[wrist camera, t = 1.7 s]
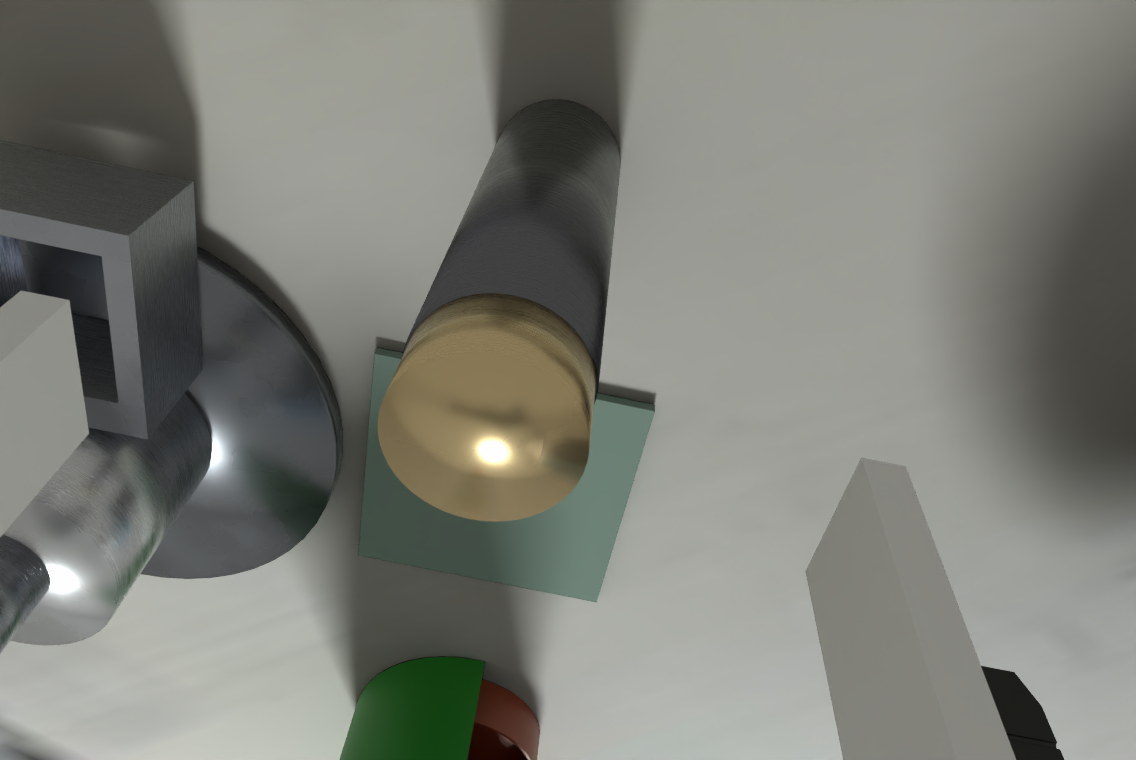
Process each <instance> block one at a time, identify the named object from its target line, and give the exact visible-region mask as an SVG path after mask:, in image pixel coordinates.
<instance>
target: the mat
mask: <svg viewBox="0 0 1136 760" xmlns="http://www.w3.org/2000/svg"><path fill="white" fill-rule="evenodd" d="M402 357H403V353H401V352H396V351H391V350H386V349H381V348H377V350H376V352H375V355H374V367H373V380H372V392H371V404H370V417H369V429H368V441H367V454H366V466H365V478H364V491H363V503H362V515H361V528H360V540H359V552H358V555H360V556H365V557H370V558H375V559H380V560H385V561H390V562H395V563H400V564H405V565H410V566H416V567H421V568H426V569H431V570H436V571H441V572H446V573H451V574H456V575H461V576H466V577H471V578H476V579H481V580H486V581H491V582H496V583H501V584H507V585H512V586H517V587H522V588H527V589H532V590H537V591H542V592H547V593H552V594H557V595H562V596H567V597H572V598H577V599H582V600H587V601H592V602H597V599H598V595H599V592H600V589H601V585H602V582H603V579H604V576H605V572H606V569H607V566H608V563H609V559H610V556H611V553H612V549H613V546H614V543H615V540H616V536H617V533H618V530H619V526H620V523H621V520H622V517H623V513H624V510H625V507H626V504H627V500H628V497H629V494H630V490H631V487H632V484H633V481H634V477H635V474H636V471H637V468H638V464H639V461H640V458H641V454H642V451H643V448H644V445H645V441H646V438H647V435H648V432H649V428H650V425H651V422H652V418H653V415H654V412H655V405H653V404H648V403H643V402H638V401H633V400H628V399H624V398H619V397H614V396H609V395H604V394H599V393H597V398H596V401H595V404H594V409H593V419H592V428H591V438H590V448H589V455H588V461H587V465H586V468H585V470H584V473H583V475H582V477H581V479H580V481H579V482H578V484H577V485H576V486H575V488H574V489H573V490H572V492H571V493H569V494H568V495H567V496H566V497H565V498H564V499H563V500H562V501H560V502H559V503H558V504H556V505H555V506H553V507H551V508H549V509H548V510H546V511H544V512H541V513H539V514H536V515H534V516H531V517H527V518H523V519H518V520H512V521H498V522H493V521H479V520H473V519H467V518H463V517H459V516H456V515H453V514H450V513H447V512H445V511H442V510H440V509H438V508H436V507H434V506H432V505H430V504H429V503H427V502H425V501H424V500H422V499H420V498H419V497H418V496H416V495H415V494H414V493H412V492H411V491H410V490H409V489H408V488H407V487H406V486H405V485H404V484H403V483H402V482H401V481H400V480H399V479H398V478H397V476H396V475H395V474H394V473H393V471H392V469H391V468H390V466H389V465H388V463H387V461H386V459H385V457H384V455H383V452H382V449H381V446H380V443H379V437H378V416H379V410H380V407H381V404H382V401H383V399H384V396H385V394H386V392H387V390H388V388H389V385H390V383H391V381H392V379H393V376H394V374H395V372H396V370H397V368H398V365H399V363H400V361H401V359H402Z"/></svg>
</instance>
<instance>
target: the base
mask: <svg viewBox="0 0 1136 760" xmlns="http://www.w3.org/2000/svg"><path fill="white" fill-rule="evenodd" d="M19 242H20V248H21V253H22V259H23V265H24V271H25V277H26V282H27V288H28V292H31V293H36V294H41V295H46V296H51V297H56V298H61V299H66V300H69V301H70V308H71V314H73V315H78V316H83V317H88V318H93V319H98V320H102V321H107V322H109V316H108V308H107V299H106V291H105V282H104V273H103V265H102V256H98V255H93V254H88V253H83V252H79V251H74V250H69V249H64V248H59V247H55V246H50V245H45V244H40V243H35V242H31V241H26V240H21V239H19ZM197 261H198V282H199V302H200V323H201V343H202V364H203V370H202V371H201V373H200V374H199V375H198V376H197V378H196V379H195V380H194V381H193V383H192V384H191V385H190V387H189V388H188V389H187V390H186V392H185V394H186V395H187V396H188V397H189V398H190V399H191V401H192V402H193V403H194V404H195V406H196V407H197V409H198V410H199V412H200V414H201V415H202V417H203V419H204V421H205V423H206V425H207V428H208V431H209V434H210V438H211V445H212V458H211V462H210V467H209V469H208V471H207V473H206V475H205V477H204V478H203V480H202V481H201V483H200V484H199V486H198V487H197V489H196V490H195V492H194V493H193V495H192V496H191V498H190V499H189V501H188V502H187V504H186V505H185V507H184V508H183V510H182V512H181V513H180V515H179V516H178V518H177V519H176V521H175V522H174V524H173V525H172V527H171V528H170V530H169V531H168V533H167V534H166V536H165V537H164V539H163V540H162V542H161V543H160V545H159V546H158V548H157V549H156V551H155V552H154V554H153V555H152V557H151V558H150V560H149V561H148V563H147V564H146V566H145V567H144V569H143V570H142V572H141V574H145V575H151V576H158V577H166V578H183V579H194V578H213V577H219V576H226V575H233V574H237V573H240V572H244V571H248V570H251V569H254V568H257V567H259V566H261V565H264V564H266V563H269V562H271V561H273V560H275V559H276V558H278V557H280V556H281V555H283V554H285V553H286V552H288V551H290V550H291V549H292V548H293V547H294V546H295V545H297V544H298V543H299V542H300V541H301V540H302V539H304V538H305V536H306V535H307V534H308V533H309V532H310V530H311V529H312V528H313V527H314V526H315V524H316V523H317V521H318V519H319V518H320V516H321V514H322V512H323V511H324V509H325V507H326V505H327V503H328V501H329V498H330V496H331V494H332V492H333V490H334V487H335V484H336V481H337V478H338V475H339V472H340V467H341V460H342V453H343V436H342V425H341V419H340V414H339V408H338V405H337V402H336V399H335V396H334V393H333V390H332V387H331V384H330V382H329V379H328V377H327V375H326V373H325V371H324V369H323V367H322V365H321V363H320V361H319V359H318V358H317V356H316V355H315V353H314V352H313V350H312V349H311V347H310V345H309V344H308V342H307V341H306V339H305V338H304V336H303V335H302V334H301V333H300V331H299V330H298V329H297V328H296V326H295V325H294V324H293V323H292V322H291V320H290V319H289V318H288V317H287V316H286V314H285V313H284V312H283V311H282V310H281V309H280V308H279V307H278V306H277V305H276V304H275V303H274V302H273V301H272V300H271V299H270V298H268V297H267V296H266V295H265V294H264V293H263V292H262V291H261V290H260V289H259V288H257V287H256V286H255V285H254V284H252V283H251V282H250V281H249V280H247V279H246V278H245V277H244V276H242V275H241V274H240V273H239V272H237V271H236V270H234V269H233V268H231V267H230V266H228V265H227V264H225V263H224V262H222V261H220V260H219V259H217V258H216V257H214V256H213V255H211V254H209V253H208V252H206V251H204V250H202V249H200V248H198V247H197Z"/></svg>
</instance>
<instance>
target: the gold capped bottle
mask: <svg viewBox="0 0 1136 760" xmlns="http://www.w3.org/2000/svg"><path fill="white" fill-rule="evenodd" d="M619 175H620V152H619V148H618V144H617V141H616V139H615V136H614V134H613V133H612V131H611V129H610V128H609V126H608V125H607V124H606V122H605V121H604V120H603V119H602V118H601V117H600V116H599V115H597V114H596V113H595V112H593V111H592V110H590V109H589V108H587V107H585V106H583V105H581V104H578V103H575V102H571V101H566V100H545V101H541V102H537V103H534V104H532V105H529V106H527V107H526V108H524V109H522V110H521V111H520V112H518V113H517V114H516V115H515V116H514V117H513V118H512V119H511V120H510V121H509V122H508V124H507V125H506V126H505V128H504V130H503V132H502V133H501V135H500V138H499V140H498V142H497V144H496V146H495V149H494V151H493V153H492V155H491V157H490V160H489V162H488V164H487V166H486V168H485V170H484V173H483V175H482V177H481V179H480V181H479V184H478V186H477V188H476V190H475V192H474V195H473V197H472V199H471V201H470V203H469V205H468V208H467V210H466V212H465V214H464V216H463V219H462V221H461V223H460V225H459V227H458V230H457V232H456V234H455V236H454V238H453V240H452V243H451V245H450V247H449V249H448V251H447V254H446V256H445V258H444V260H443V262H442V265H441V267H440V269H439V271H438V273H437V275H436V278H435V280H434V282H433V284H432V286H431V289H430V291H429V293H428V295H427V297H426V300H425V302H424V304H423V306H422V308H421V310H420V313H419V315H418V317H417V319H416V321H415V324H414V326H413V328H412V330H411V332H410V335H409V337H408V339H407V342H406V345H405V348H404V353H403V357H402V359H401V361H400V363H399V365H398V368H397V370H396V372H395V374H394V376H393V379H392V381H391V383H390V385H389V388H388V390H387V392H386V394H385V396H384V399H383V401H382V404H381V407H380V410H379V416H378V437H379V443H380V446H381V449H382V452H383V455H384V457H385V459H386V461H387V463H388V465H389V466H390V468H391V469H392V471H393V473H394V474H395V475H396V476H397V478H398V479H399V480H400V481H401V482H402V483H403V484H404V485H405V486H406V487H407V488H408V489H409V490H410V491H411V492H412V493H414V494H415V495H416V496H418V497H419V498H420V499H422V500H424V501H425V502H427V503H429V504H430V505H432V506H434V507H436V508H438V509H440V510H442V511H445V512H447V513H450V514H453V515H456V516H459V517H463V518H467V519H473V520H479V521H493V522H498V521H512V520H518V519H523V518H527V517H531V516H534V515H536V514H539V513H541V512H544V511H546V510H548V509H549V508H551V507H553V506H555V505H556V504H558V503H559V502H560V501H562V500H563V499H564V498H565V497H566V496H567V495H568V494H569V493H571V492H572V490H573V489H574V488H575V486H576V485H577V484H578V482H579V481H580V479H581V477H582V475H583V473H584V470H585V468H586V465H587V461H588V455H589V448H590V438H591V428H592V419H593V409H594V404H595V401H596V398H597V393H598V386H599V376H600V366H601V356H602V346H603V336H604V326H605V316H606V306H607V296H608V285H609V275H610V265H611V255H612V245H613V235H614V225H615V215H616V205H617V195H618V185H619Z"/></svg>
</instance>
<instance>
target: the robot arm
mask: <svg viewBox="0 0 1136 760" xmlns="http://www.w3.org/2000/svg"><path fill="white" fill-rule="evenodd" d="M88 434H89V429H88V423H87V416H86V409H85V402H84V396H83V389H82V382H81V375H80V369H79V362H78V355H77V348H76V342H75V335H74V328H73V321H72V315H71V308H70V301H69V300H66V299H61V298H56V297H51V296H46V295H41V294H36V293H31V292H26V291H20V292H19V293H17V294H16V295H15V296H14V297H13V298H11V299H10V300H9V301H8V302H6V303H5V304H4V305H3V306H1V307H0V537H1V536H2V535H3V534H4V532H5V531H6V530H7V529H8V528H9V527H10V525H11V524H12V523H13V522H14V521H15V520H16V518H17V517H18V516H19V515H20V514H21V513H22V511H23V510H24V509H25V508H26V507H27V506H28V504H29V503H30V502H31V501H32V500H33V499H34V497H35V496H36V495H37V494H38V493H39V492H40V490H41V489H42V488H43V487H44V486H45V484H46V483H47V482H48V481H49V480H50V479H51V477H52V476H53V475H54V474H55V473H56V472H57V470H58V469H59V468H60V467H61V466H62V465H63V463H64V462H65V461H66V460H67V459H68V458H69V456H70V455H71V454H72V453H73V452H74V451H75V449H76V448H77V447H78V446H79V445H80V444H81V442H82V441H83V440H84V439H85V438H86V436H87V435H88ZM806 575H807V580H808V585H809V590H810V595H811V600H812V605H813V610H814V615H815V620H816V625H817V630H818V635H819V640H820V645H821V650H822V655H823V660H824V665H825V670H826V675H827V680H828V685H829V690H830V695H831V700H832V705H833V710H834V715H835V720H836V725H837V730H838V735H839V740H840V745H841V750H842V755H843V760H1064V758H1063V756H1062V753H1061V751H1060V749H1057V748H1056V743H1057V741H1056V739H1055V737H1054V734H1053V732H1052V730H1051V727H1050V725H1049V723H1048V720H1047V718H1046V716H1045V713H1044V711H1043V709H1042V706H1041V705H1040V704H1039V703H1038V701H1037V700H1036V699H1035V698H1034V696H1033V695H1032V694H1031V693H1030V691H1029V690H1028V689H1027V688H1026V686H1025V685H1024V684H1023V683H1022V681H1021V680H1020V679H1019V678H1018V676H1017V675H1016V674H1015V673H1014V672H1010V671H1005V670H1000V669H994V668H989V667H984V666H981V665H980V662H979V660H978V657H977V654H976V652H975V649H974V646H973V644H972V641H971V638H970V636H969V633H968V630H967V628H966V625H965V622H964V620H963V617H962V615H961V612H960V609H959V607H958V604H957V601H956V599H955V596H954V593H953V591H952V588H951V585H950V583H949V580H948V577H947V575H946V572H945V569H944V567H943V564H942V561H941V559H940V556H939V553H938V551H937V548H936V546H935V543H934V540H933V538H932V535H931V532H930V530H929V527H928V524H927V522H926V519H925V516H924V514H923V511H922V508H921V506H920V503H919V500H918V498H917V495H916V492H915V490H914V487H913V484H912V482H911V479H910V476H909V474H908V471H907V469H906V466H901V465H896V464H891V463H886V462H881V461H876V460H871V459H866V458H861V460H860V462H859V464H858V466H857V468H856V470H855V472H854V474H853V476H852V478H851V480H850V482H849V484H848V486H847V488H846V490H845V492H844V494H843V496H842V498H841V500H840V502H839V504H838V507H837V509H836V511H835V513H834V515H833V517H832V519H831V521H830V523H829V525H828V527H827V529H826V531H825V533H824V535H823V537H822V539H821V541H820V543H819V545H818V547H817V549H816V551H815V553H814V555H813V557H812V560H811V562H810V564H809V566H808V568H807V570H806Z"/></svg>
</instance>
